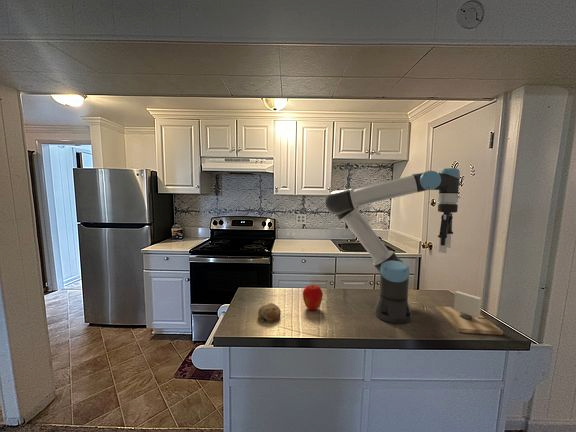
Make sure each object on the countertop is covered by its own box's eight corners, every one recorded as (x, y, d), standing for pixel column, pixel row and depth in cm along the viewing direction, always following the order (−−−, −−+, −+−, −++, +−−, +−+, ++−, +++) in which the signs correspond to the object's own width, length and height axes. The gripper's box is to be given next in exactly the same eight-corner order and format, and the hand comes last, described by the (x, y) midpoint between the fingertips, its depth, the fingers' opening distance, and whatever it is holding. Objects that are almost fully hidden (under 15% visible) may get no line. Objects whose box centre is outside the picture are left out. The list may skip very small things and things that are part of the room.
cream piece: (476, 323, 105) (478, 299, 104) (452, 314, 112) (453, 292, 111) (485, 317, 110) (487, 294, 109) (462, 309, 118) (463, 288, 117)
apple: (321, 304, 124) (321, 280, 123) (323, 313, 115) (324, 287, 114) (302, 304, 125) (302, 280, 123) (303, 313, 116) (303, 287, 114)
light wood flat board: (458, 332, 101) (458, 327, 101) (435, 309, 121) (435, 305, 120) (502, 334, 99) (503, 330, 99) (472, 311, 119) (472, 307, 119)
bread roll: (256, 326, 111) (252, 314, 107) (265, 308, 119) (261, 295, 115) (277, 331, 107) (274, 318, 104) (285, 311, 116) (282, 299, 112)
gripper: (454, 204, 103) (451, 256, 105) (460, 202, 122) (457, 246, 124) (433, 203, 107) (430, 253, 109) (442, 202, 127) (439, 244, 129)
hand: (444, 249), depth 117 cm, fingers open, 13 cm apart
